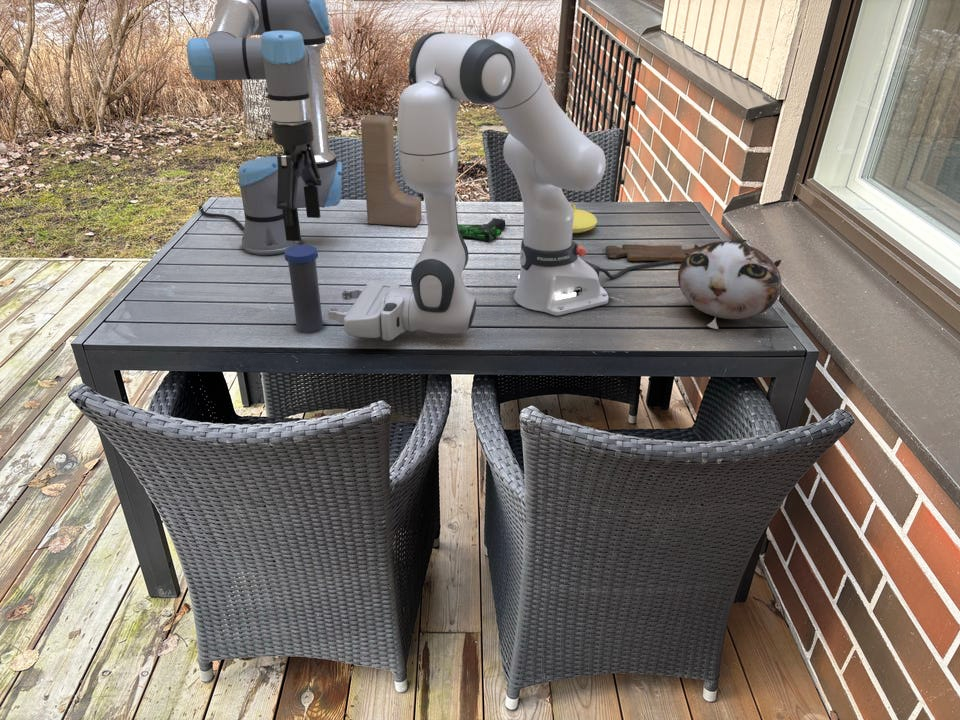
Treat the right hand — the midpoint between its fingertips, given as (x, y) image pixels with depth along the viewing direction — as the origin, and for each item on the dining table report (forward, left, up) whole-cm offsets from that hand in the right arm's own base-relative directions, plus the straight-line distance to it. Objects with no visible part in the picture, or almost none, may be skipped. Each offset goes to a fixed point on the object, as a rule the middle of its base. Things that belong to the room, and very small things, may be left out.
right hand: (336, 303), depth 153 cm
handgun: (-46, -49, -6) cm, 68 cm away
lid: (+6, -3, +11) cm, 13 cm away
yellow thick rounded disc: (-73, -45, -6) cm, 86 cm away
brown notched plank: (-88, -20, -6) cm, 90 cm away
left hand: (+5, -4, +16) cm, 17 cm away
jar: (+6, -3, -6) cm, 9 cm away
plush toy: (-85, +16, -6) cm, 87 cm away
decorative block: (-25, -64, -6) cm, 69 cm away
